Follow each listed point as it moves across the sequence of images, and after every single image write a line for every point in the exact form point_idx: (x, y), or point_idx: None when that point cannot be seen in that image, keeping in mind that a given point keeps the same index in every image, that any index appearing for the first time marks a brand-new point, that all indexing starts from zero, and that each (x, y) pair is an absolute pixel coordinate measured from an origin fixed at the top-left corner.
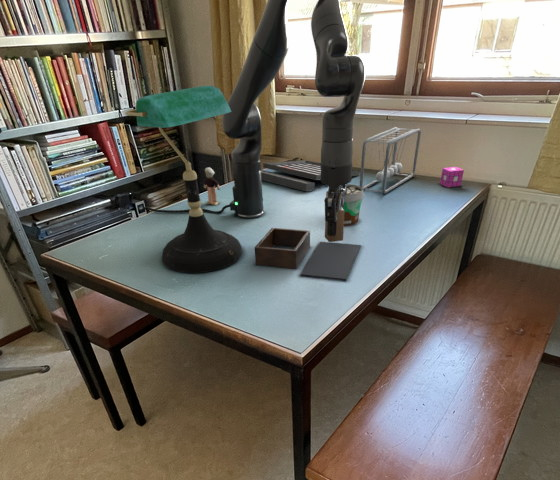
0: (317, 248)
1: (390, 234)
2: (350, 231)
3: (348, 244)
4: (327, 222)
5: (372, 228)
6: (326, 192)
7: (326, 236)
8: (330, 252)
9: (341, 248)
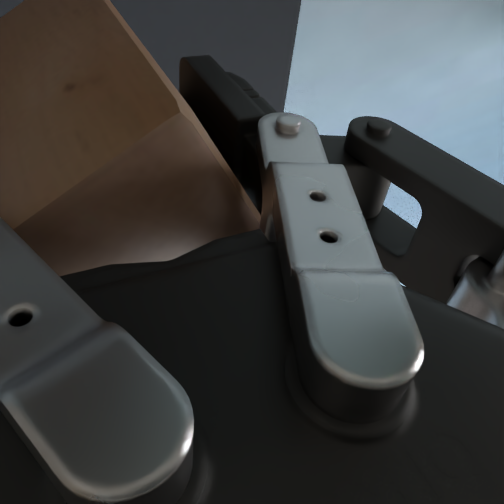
0: None
1: (400, 188)
2: (470, 4)
3: (287, 50)
4: (24, 97)
5: (473, 104)
6: (84, 496)
7: (23, 10)
8: None
9: (225, 22)
